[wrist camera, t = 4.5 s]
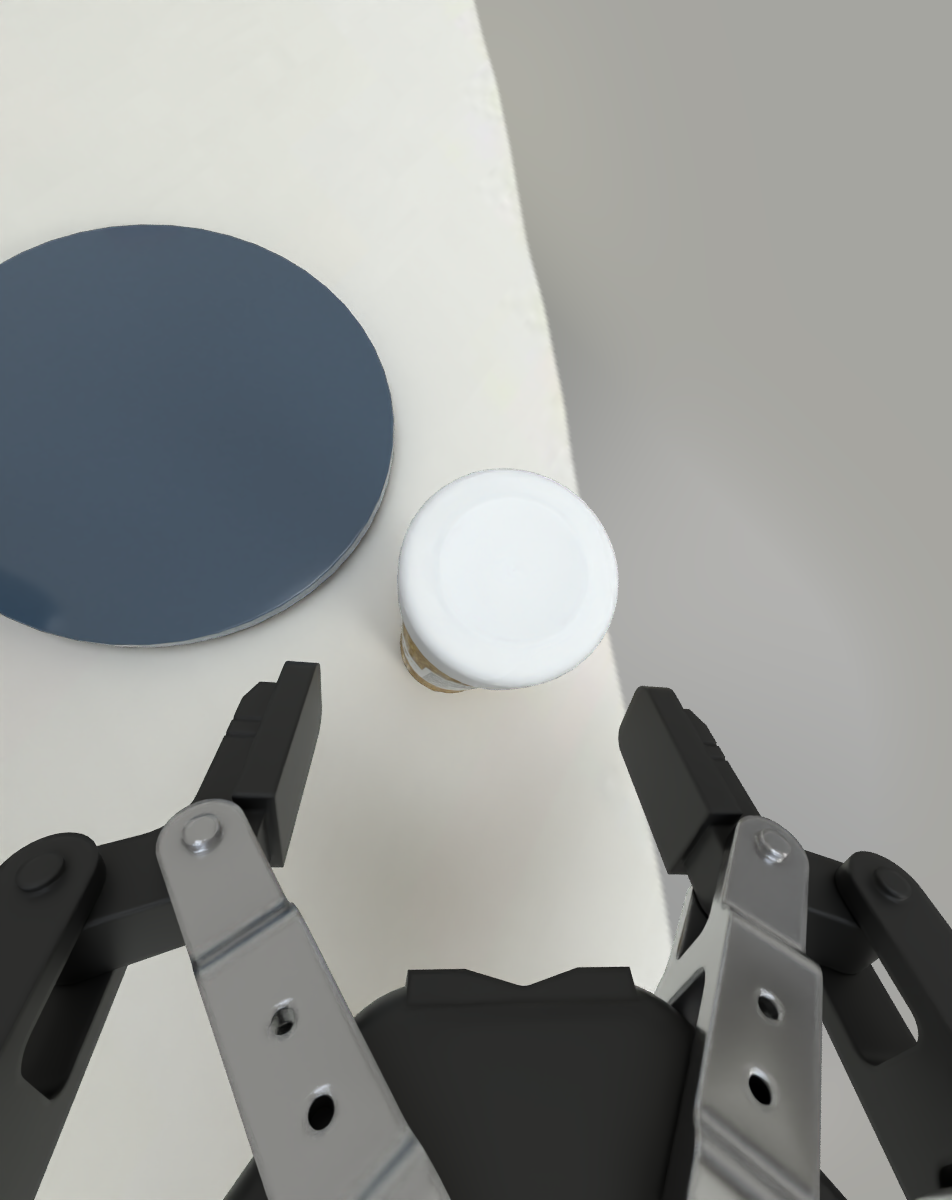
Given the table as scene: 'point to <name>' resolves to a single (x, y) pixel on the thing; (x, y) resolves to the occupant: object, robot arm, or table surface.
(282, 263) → the plate
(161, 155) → the table surface
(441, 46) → the table surface
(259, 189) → the table surface
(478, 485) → the sprinkles bottle
